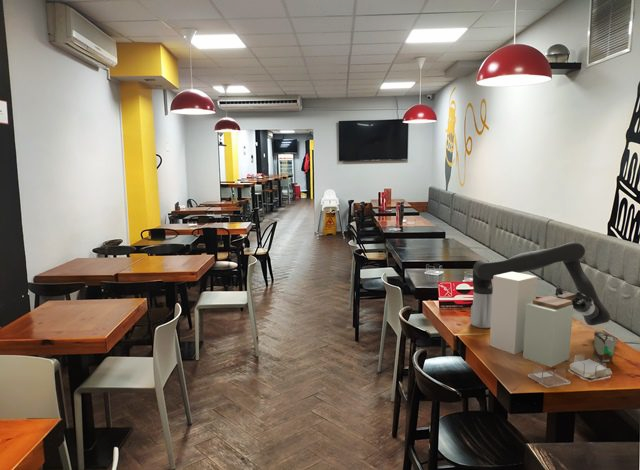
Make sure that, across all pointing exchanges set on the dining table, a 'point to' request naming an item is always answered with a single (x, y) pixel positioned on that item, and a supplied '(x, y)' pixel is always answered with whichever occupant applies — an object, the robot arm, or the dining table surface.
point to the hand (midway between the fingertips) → (567, 291)
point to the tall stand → (510, 309)
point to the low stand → (547, 334)
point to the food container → (604, 346)
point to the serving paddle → (555, 300)
